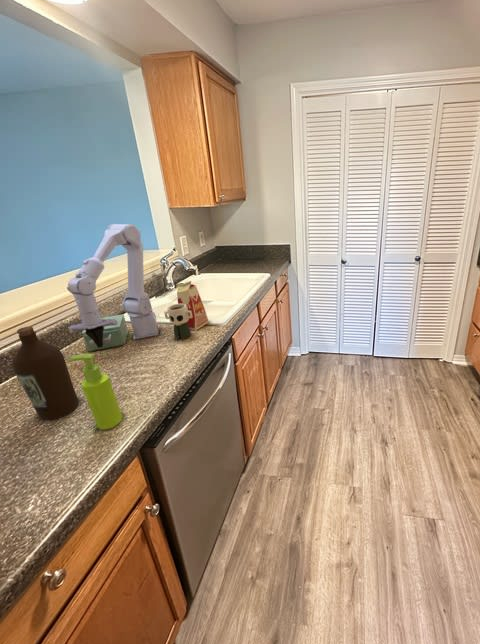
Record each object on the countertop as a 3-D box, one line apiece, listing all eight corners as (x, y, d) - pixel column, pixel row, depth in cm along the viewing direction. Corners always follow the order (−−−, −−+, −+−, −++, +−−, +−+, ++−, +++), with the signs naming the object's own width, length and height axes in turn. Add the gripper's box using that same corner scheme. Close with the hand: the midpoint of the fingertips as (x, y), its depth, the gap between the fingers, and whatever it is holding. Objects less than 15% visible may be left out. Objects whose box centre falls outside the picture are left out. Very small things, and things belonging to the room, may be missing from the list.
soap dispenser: (99, 415, 87) (75, 351, 79) (126, 413, 88) (104, 348, 80) (88, 430, 82) (61, 363, 74) (116, 428, 83) (92, 360, 74)
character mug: (166, 341, 127) (159, 310, 122) (173, 333, 134) (166, 303, 129) (193, 340, 127) (187, 309, 122) (199, 332, 133) (193, 303, 128)
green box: (124, 344, 126) (119, 326, 123) (88, 351, 122) (81, 333, 119) (128, 331, 138) (123, 314, 135) (95, 336, 134) (89, 319, 131)
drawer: (120, 349, 121) (116, 335, 118) (86, 356, 117) (80, 341, 115) (125, 331, 135) (121, 318, 133) (95, 336, 132) (90, 323, 130)
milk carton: (209, 321, 143) (201, 278, 135) (196, 330, 135) (187, 284, 127) (191, 319, 146) (183, 277, 138) (178, 328, 138) (168, 283, 130)
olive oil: (65, 394, 97) (33, 318, 87) (89, 401, 94) (59, 322, 84) (27, 417, 88) (-13, 335, 78) (52, 425, 85) (14, 341, 75)
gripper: (61, 318, 106) (74, 355, 111) (111, 311, 110) (121, 346, 116) (67, 312, 112) (79, 347, 117) (113, 305, 117) (123, 339, 122)
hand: (100, 346), depth 117 cm, fingers closed, pressing on drawer
